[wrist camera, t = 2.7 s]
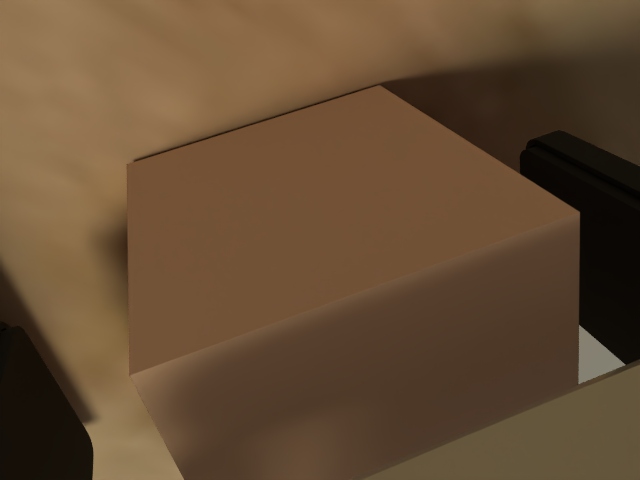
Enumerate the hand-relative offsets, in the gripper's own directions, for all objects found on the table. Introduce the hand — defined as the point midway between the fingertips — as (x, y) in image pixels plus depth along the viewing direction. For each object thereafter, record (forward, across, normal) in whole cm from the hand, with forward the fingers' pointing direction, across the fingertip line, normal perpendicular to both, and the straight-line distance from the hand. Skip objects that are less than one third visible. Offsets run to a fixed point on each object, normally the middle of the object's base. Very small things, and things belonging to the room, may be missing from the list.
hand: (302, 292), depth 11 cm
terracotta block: (+2, 0, 0) cm, 2 cm away
